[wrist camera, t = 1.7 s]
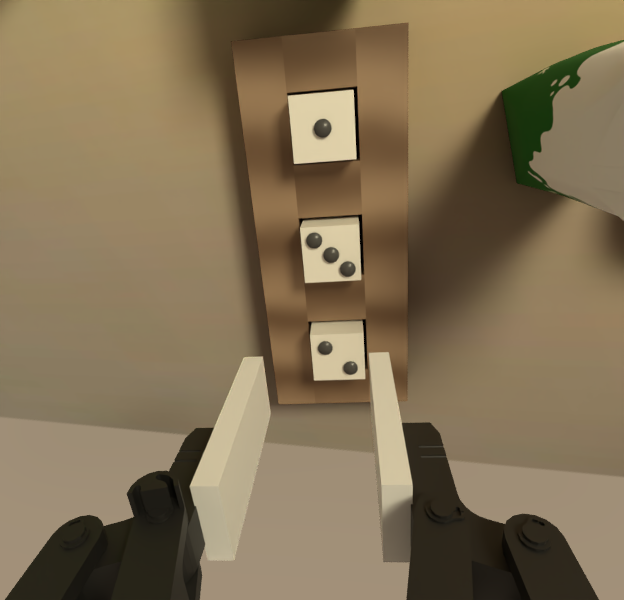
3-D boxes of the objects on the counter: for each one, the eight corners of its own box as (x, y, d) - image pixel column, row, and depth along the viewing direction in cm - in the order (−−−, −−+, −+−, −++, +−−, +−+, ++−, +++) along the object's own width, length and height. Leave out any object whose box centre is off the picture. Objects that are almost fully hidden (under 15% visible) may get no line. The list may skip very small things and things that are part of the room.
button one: (355, 154, 34) (356, 159, 31) (298, 159, 34) (293, 164, 31) (352, 92, 32) (353, 89, 29) (293, 97, 33) (287, 95, 29)
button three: (360, 265, 38) (361, 281, 34) (308, 268, 38) (304, 283, 35) (357, 214, 36) (359, 224, 32) (304, 217, 36) (299, 228, 33)
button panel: (403, 382, 43) (407, 401, 41) (282, 386, 45) (278, 404, 42) (402, 30, 32) (408, 22, 29) (240, 47, 33) (230, 41, 30)
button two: (363, 358, 41) (365, 380, 38) (316, 359, 41) (313, 381, 38) (362, 315, 39) (363, 334, 36) (312, 317, 40) (309, 336, 36)
